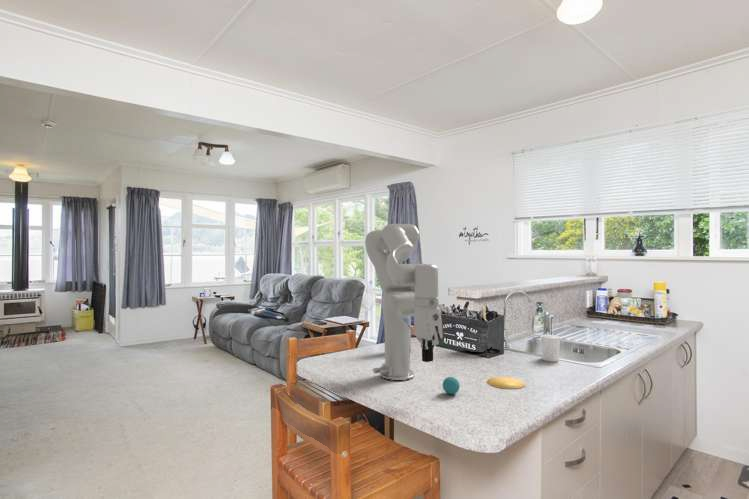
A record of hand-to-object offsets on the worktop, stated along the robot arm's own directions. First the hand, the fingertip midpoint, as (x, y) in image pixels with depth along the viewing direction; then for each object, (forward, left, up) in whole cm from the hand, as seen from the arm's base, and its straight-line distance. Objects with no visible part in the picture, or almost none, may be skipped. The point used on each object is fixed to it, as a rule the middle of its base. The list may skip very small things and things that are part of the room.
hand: (427, 361), depth 131 cm
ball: (+10, +1, -9) cm, 13 cm away
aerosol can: (+24, +56, -12) cm, 62 cm away
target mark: (+34, +1, -12) cm, 36 cm away
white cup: (+74, +16, -12) cm, 76 cm away
